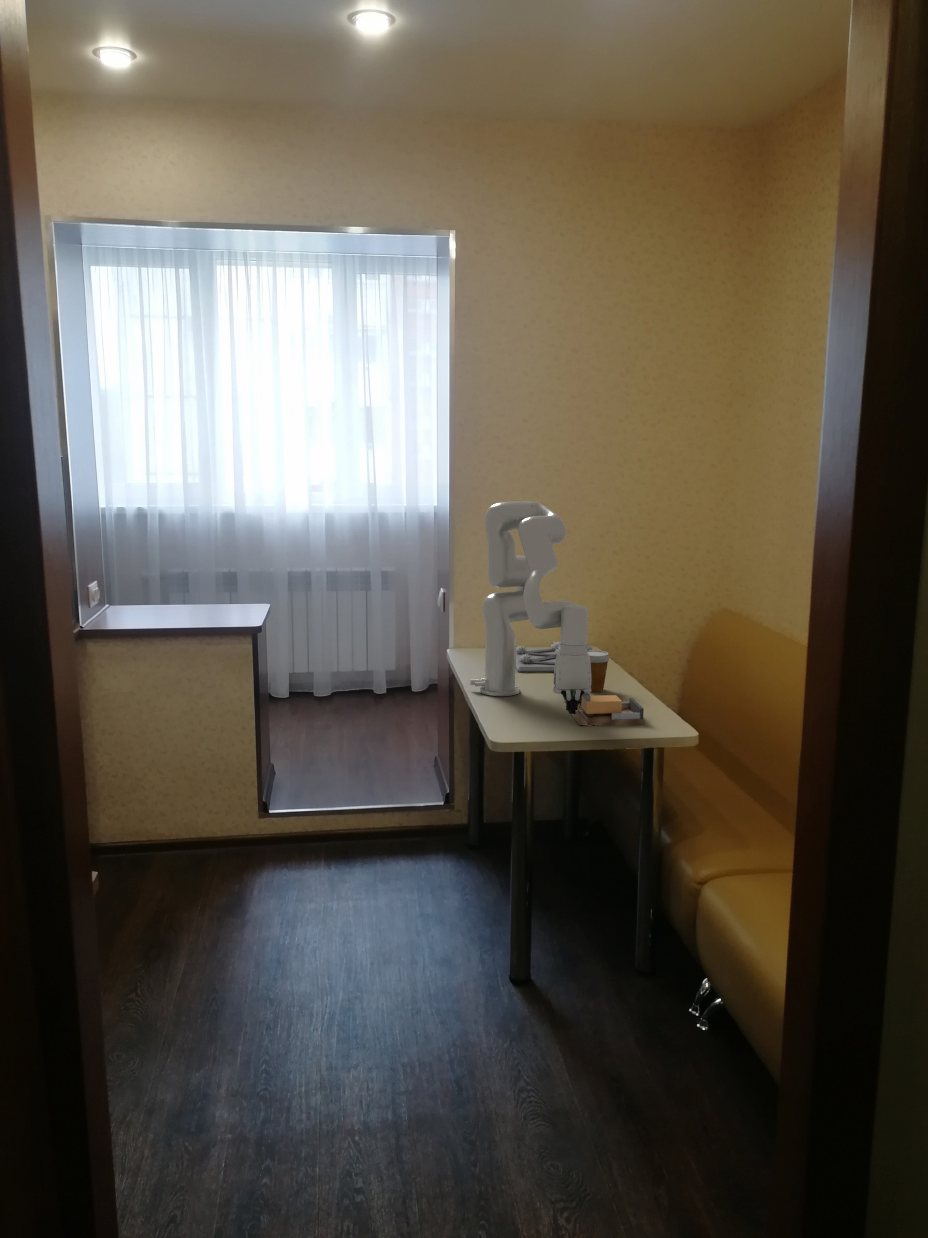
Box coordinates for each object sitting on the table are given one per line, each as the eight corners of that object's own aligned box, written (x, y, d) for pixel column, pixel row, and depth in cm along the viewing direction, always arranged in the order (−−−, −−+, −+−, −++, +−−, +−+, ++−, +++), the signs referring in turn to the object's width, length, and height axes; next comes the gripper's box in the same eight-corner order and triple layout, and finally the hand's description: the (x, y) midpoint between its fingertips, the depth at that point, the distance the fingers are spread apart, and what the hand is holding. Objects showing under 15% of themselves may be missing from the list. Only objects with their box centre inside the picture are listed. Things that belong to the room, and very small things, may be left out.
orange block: (586, 717, 262) (587, 696, 260) (581, 711, 268) (582, 690, 267) (621, 717, 263) (622, 695, 261) (615, 710, 269) (616, 689, 268)
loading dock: (580, 726, 259) (580, 710, 258) (570, 713, 270) (571, 698, 270) (643, 724, 261) (644, 709, 260) (631, 712, 272) (632, 697, 271)
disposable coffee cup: (607, 694, 292) (609, 657, 289) (577, 692, 294) (578, 655, 291) (609, 687, 301) (610, 650, 299) (579, 685, 303) (580, 649, 300)
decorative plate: (508, 654, 348) (509, 636, 346) (566, 654, 349) (566, 635, 348) (517, 674, 318) (517, 654, 317) (580, 674, 319) (580, 653, 318)
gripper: (596, 646, 265) (594, 708, 268) (544, 647, 264) (543, 709, 267) (603, 652, 258) (600, 716, 261) (549, 652, 256) (548, 717, 260)
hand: (571, 712), depth 264 cm, fingers closed
